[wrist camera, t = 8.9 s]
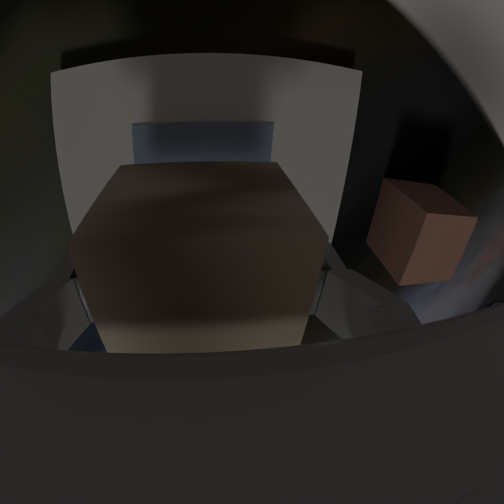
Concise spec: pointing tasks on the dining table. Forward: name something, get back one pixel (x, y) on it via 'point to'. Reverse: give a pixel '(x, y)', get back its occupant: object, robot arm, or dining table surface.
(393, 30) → the dining table surface
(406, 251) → the terracotta block
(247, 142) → the white flat square slab
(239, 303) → the birch block
